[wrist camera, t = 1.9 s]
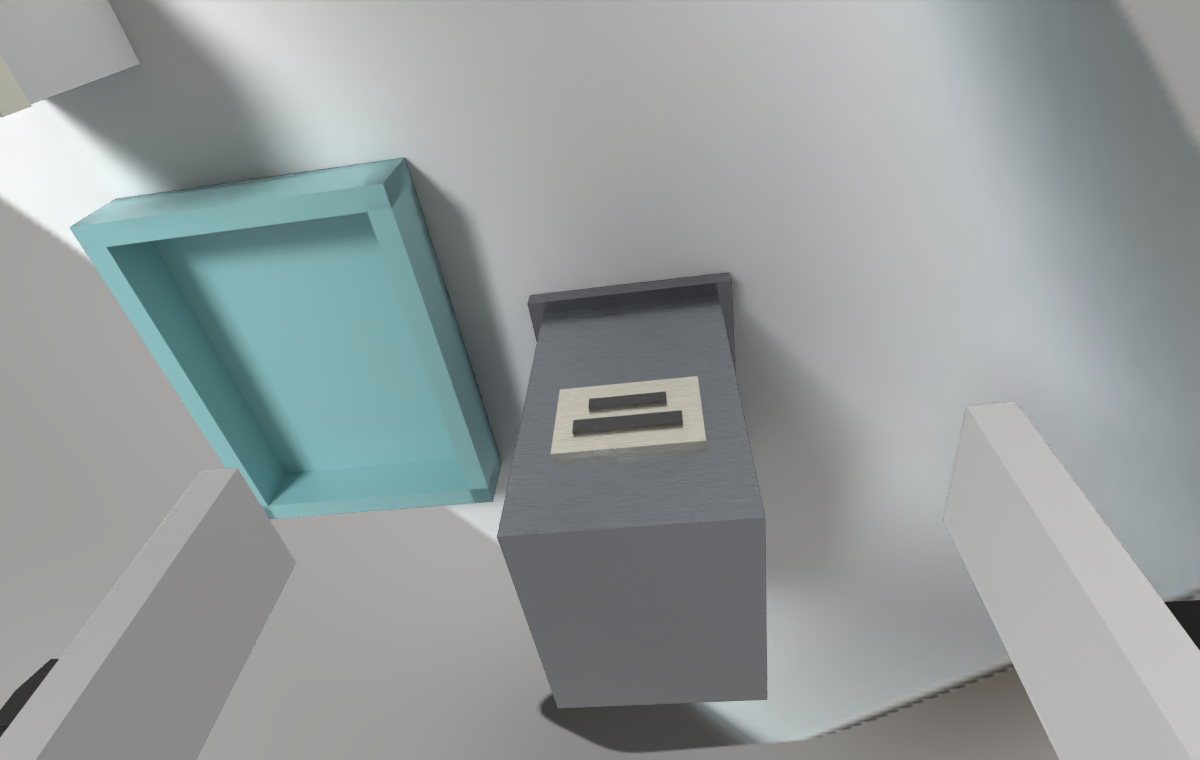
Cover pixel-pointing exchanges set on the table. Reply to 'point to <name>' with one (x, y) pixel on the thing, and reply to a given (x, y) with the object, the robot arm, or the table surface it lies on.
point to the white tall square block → (57, 48)
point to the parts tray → (306, 336)
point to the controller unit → (638, 499)
